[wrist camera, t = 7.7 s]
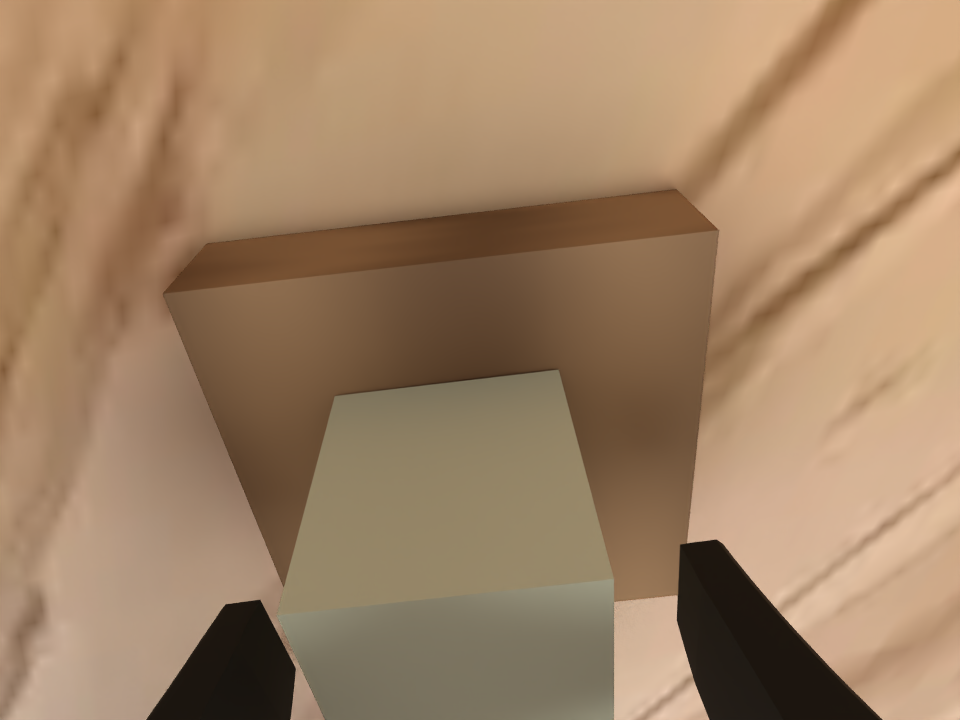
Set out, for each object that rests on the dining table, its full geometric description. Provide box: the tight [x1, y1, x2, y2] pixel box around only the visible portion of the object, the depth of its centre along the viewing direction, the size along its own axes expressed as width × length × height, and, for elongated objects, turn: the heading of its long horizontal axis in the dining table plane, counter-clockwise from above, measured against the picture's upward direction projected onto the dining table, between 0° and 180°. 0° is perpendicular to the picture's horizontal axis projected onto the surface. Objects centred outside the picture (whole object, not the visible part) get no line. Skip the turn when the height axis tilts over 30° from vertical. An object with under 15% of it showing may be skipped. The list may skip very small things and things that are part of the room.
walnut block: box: [163, 189, 719, 602], centre depth 15 cm, size 10×10×3 cm
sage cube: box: [277, 370, 614, 720], centre depth 12 cm, size 4×4×5 cm
